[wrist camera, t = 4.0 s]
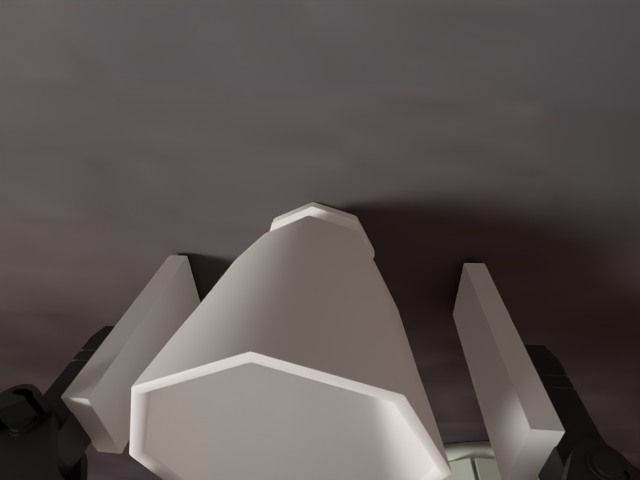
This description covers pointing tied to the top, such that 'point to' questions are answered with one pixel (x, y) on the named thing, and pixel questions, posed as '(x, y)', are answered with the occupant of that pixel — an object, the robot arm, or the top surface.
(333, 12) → the top surface
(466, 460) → the tray
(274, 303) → the cup
